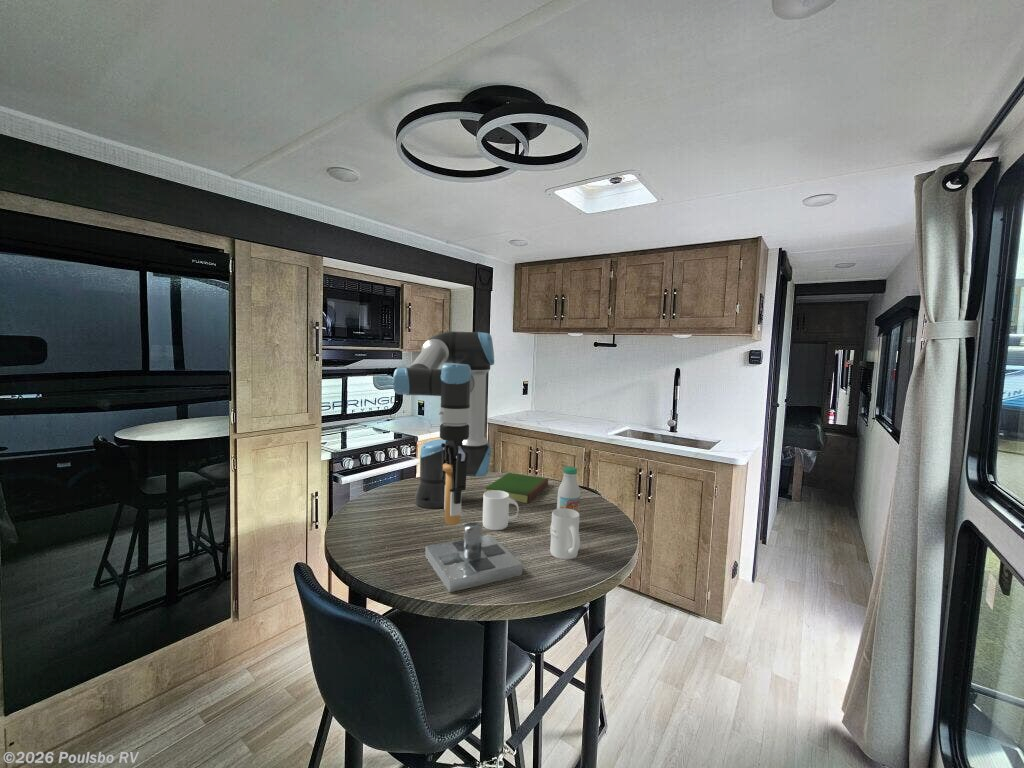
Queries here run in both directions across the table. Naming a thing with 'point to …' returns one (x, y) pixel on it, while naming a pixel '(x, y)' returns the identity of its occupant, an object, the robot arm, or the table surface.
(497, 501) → the mug
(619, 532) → the table surface
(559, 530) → the mug
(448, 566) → the checkered knob plate
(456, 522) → the tan wooden pestle
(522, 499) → the hardcover book
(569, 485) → the milk bottle
